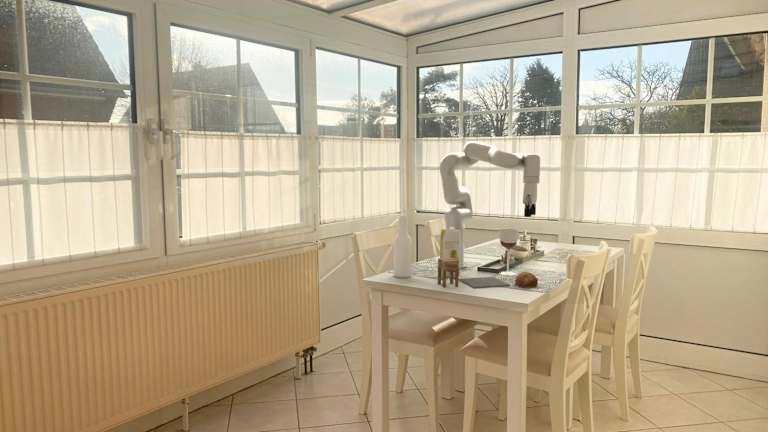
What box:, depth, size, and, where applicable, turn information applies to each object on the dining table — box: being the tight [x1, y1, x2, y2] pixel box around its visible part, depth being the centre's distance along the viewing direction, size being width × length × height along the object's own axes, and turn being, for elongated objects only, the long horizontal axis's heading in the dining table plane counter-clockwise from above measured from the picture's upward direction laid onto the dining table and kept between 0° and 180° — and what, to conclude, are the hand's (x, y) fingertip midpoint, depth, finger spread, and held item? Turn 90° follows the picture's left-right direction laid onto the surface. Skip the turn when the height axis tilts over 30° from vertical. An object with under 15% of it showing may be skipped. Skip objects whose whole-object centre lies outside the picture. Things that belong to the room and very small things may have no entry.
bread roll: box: [514, 271, 539, 289], centre depth 259 cm, size 10×10×8 cm
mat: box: [458, 276, 511, 289], centre depth 263 cm, size 17×18×1 cm
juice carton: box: [439, 227, 462, 278], centre depth 277 cm, size 9×8×24 cm
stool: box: [437, 257, 460, 288], centre depth 257 cm, size 7×7×12 cm
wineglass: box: [498, 228, 520, 276], centre depth 283 cm, size 9×10×22 cm
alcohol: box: [393, 214, 413, 279], centre depth 275 cm, size 9×9×30 cm
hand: (529, 215), depth 271 cm, fingers open, 9 cm apart
